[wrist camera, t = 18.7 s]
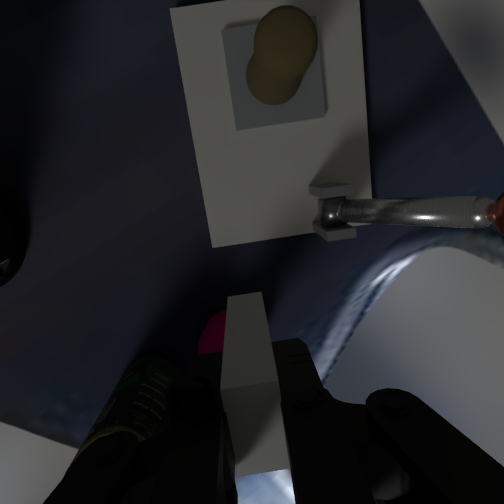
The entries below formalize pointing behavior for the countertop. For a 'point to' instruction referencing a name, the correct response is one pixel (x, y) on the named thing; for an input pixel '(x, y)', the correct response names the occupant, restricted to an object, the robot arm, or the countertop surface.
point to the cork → (281, 54)
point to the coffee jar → (136, 403)
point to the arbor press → (274, 122)
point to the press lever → (414, 211)
